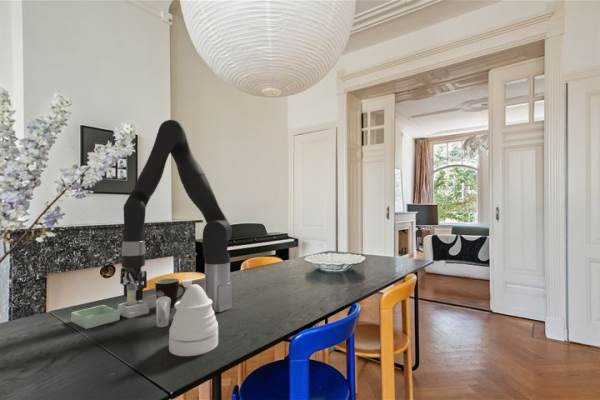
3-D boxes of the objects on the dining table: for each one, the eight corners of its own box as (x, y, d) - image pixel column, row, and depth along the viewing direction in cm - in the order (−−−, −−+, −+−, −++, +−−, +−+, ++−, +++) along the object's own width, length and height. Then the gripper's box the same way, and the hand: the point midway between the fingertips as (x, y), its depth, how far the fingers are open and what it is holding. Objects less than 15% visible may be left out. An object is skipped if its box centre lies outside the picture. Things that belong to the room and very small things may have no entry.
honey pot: (169, 360, 78) (169, 287, 78) (168, 340, 90) (169, 277, 90) (221, 350, 83) (222, 282, 84) (214, 333, 95) (214, 273, 95)
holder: (149, 312, 113) (149, 303, 114) (129, 318, 108) (129, 308, 108) (136, 308, 119) (136, 299, 119) (116, 313, 113) (116, 303, 113)
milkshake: (152, 324, 102) (152, 293, 102) (170, 322, 104) (170, 291, 104) (152, 329, 98) (152, 297, 98) (170, 326, 100) (170, 295, 100)
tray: (119, 319, 106) (119, 310, 107) (86, 329, 98) (86, 319, 98) (103, 313, 113) (103, 304, 113) (71, 321, 105) (71, 312, 105)
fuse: (141, 308, 114) (142, 283, 114) (130, 311, 110) (130, 286, 110) (135, 306, 116) (136, 282, 116) (124, 309, 113) (124, 284, 113)
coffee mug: (150, 307, 120) (151, 281, 120) (172, 302, 126) (173, 277, 127) (164, 314, 112) (164, 285, 112) (186, 308, 118) (187, 281, 119)
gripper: (154, 253, 113) (153, 299, 112) (134, 250, 121) (133, 292, 121) (133, 256, 107) (132, 304, 106) (113, 252, 115) (112, 297, 115)
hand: (132, 298), depth 113 cm, fingers open, 8 cm apart
